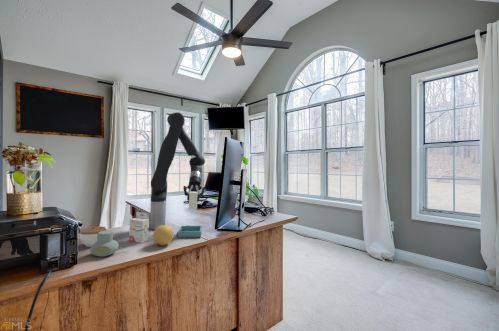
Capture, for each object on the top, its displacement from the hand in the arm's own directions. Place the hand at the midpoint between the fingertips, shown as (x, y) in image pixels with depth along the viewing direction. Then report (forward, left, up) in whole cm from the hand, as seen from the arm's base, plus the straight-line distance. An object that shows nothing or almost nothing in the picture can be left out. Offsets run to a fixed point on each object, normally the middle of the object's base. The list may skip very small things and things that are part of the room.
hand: (193, 200), depth 139 cm
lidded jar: (-47, -17, -20) cm, 54 cm away
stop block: (0, +1, -5) cm, 5 cm away
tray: (-1, -2, -20) cm, 20 cm away
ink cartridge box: (-27, -12, -20) cm, 35 cm away
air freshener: (-36, -30, -20) cm, 51 cm away
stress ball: (-13, -19, -20) cm, 30 cm away
